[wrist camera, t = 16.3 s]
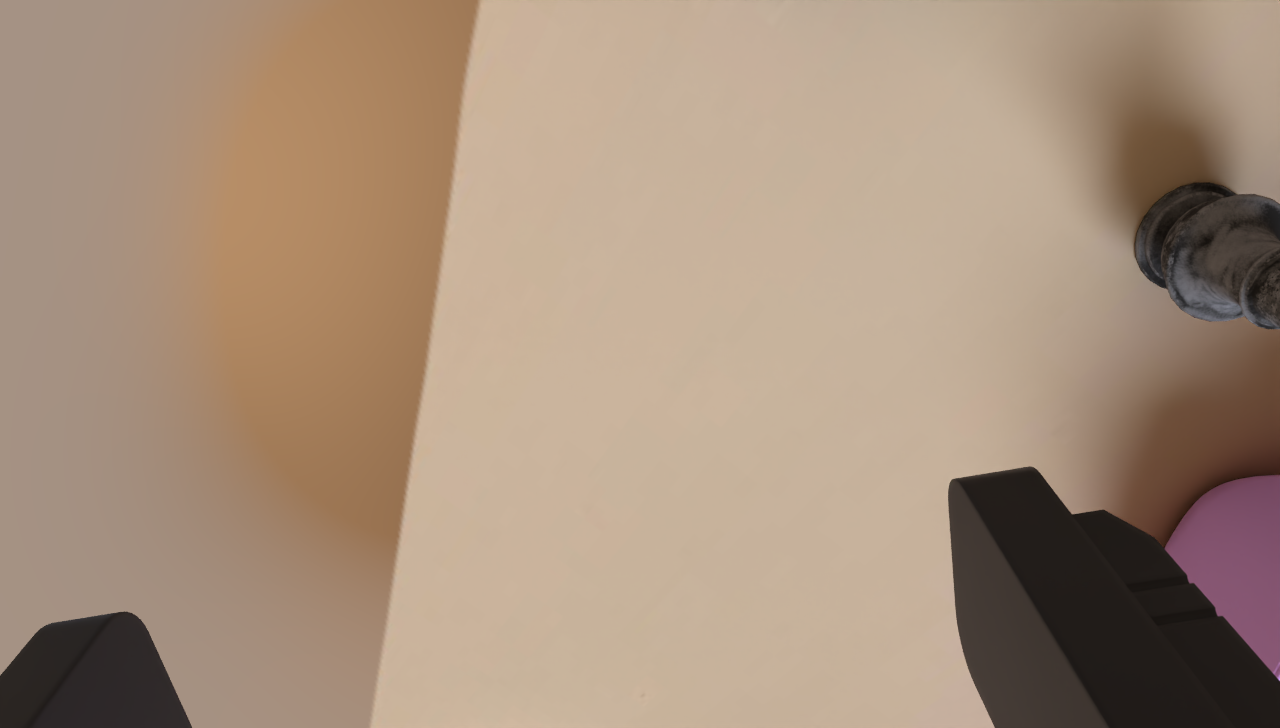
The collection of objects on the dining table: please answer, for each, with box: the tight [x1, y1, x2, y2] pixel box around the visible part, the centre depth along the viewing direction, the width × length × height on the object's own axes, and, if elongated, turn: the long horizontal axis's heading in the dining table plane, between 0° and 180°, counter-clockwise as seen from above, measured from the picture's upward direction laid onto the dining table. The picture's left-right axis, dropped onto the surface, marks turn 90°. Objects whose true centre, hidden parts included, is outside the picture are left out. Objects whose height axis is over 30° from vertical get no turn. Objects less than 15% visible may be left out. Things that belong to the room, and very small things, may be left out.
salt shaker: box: [1135, 183, 1280, 329], centre depth 43 cm, size 6×6×12 cm
